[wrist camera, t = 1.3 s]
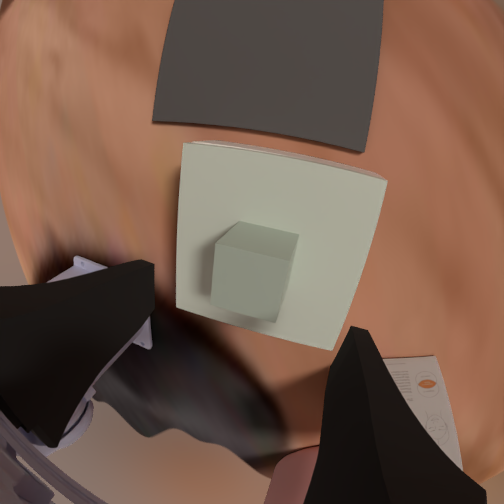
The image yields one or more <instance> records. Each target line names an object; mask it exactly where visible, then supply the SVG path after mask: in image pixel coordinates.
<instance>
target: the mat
mask: <svg viewBox="0 0 504 504" xmlns="http://www.w3.org/2000/svg"><path fill="white" fill-rule="evenodd" d="M383 1H384V0H175V1H174V5H173V9H172V13H171V17H170V21H169V25H168V29H167V34H166V39H165V43H164V48H163V53H162V58H161V64H160V69H159V75H158V81H157V88H156V95H155V102H154V109H153V118H152V121H170V122H187V123H200V124H211V125H221V126H230V127H238V128H246V129H253V130H260V131H266V132H272V133H278V134H284V135H289V136H295V137H300V138H305V139H310V140H315V141H319V142H324V143H328V144H332V145H337V146H341V147H345V148H349V149H353V150H357V151H360V152H365V147H366V142H367V136H368V131H369V125H370V120H371V114H372V108H373V101H374V95H375V88H376V81H377V73H378V65H379V56H380V46H381V34H382V21H383Z"/></svg>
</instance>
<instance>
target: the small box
mask: <svg viewBox="0 0 504 504" xmlns="http://www.w3.org/2000/svg"><path fill="white" fill-rule="evenodd" d="M383 361H384V363H385V365H386V367H387V369H388V371H389V373H390V374H391V376H392V378H393V380H394V382H395V384H396V385H397V387H398V389H399V390H400V392H401V394H402V396H403V397H404V399H405V401H406V402H407V404H408V405H409V407H410V409H411V410H412V412H413V413H414V414H415V416H416V417H417V419H418V420H419V422H420V423H421V425H422V426H423V427H424V429H425V430H426V431H427V433H428V434H429V435H430V436H431V437H432V439H433V440H434V441H435V442H436V444H437V445H438V446H439V447H440V448H441V450H442V451H443V452H444V453H445V454H446V455H447V456H448V457H449V458H450V459H451V460H452V461H453V462H454V463H455V464H456V465H457V466H458V467H459V468H460V469H461V470H462V471H463V468H462V461H461V454H460V448H459V443H458V437H457V433H456V428H455V424H454V419H453V415H452V410H451V406H450V402H449V398H448V394H447V391H446V387H445V384H444V380H443V377H442V374H441V371H440V368H439V364H438V361H437V359H436V356H426V357H412V358H391V359H383Z"/></svg>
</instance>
